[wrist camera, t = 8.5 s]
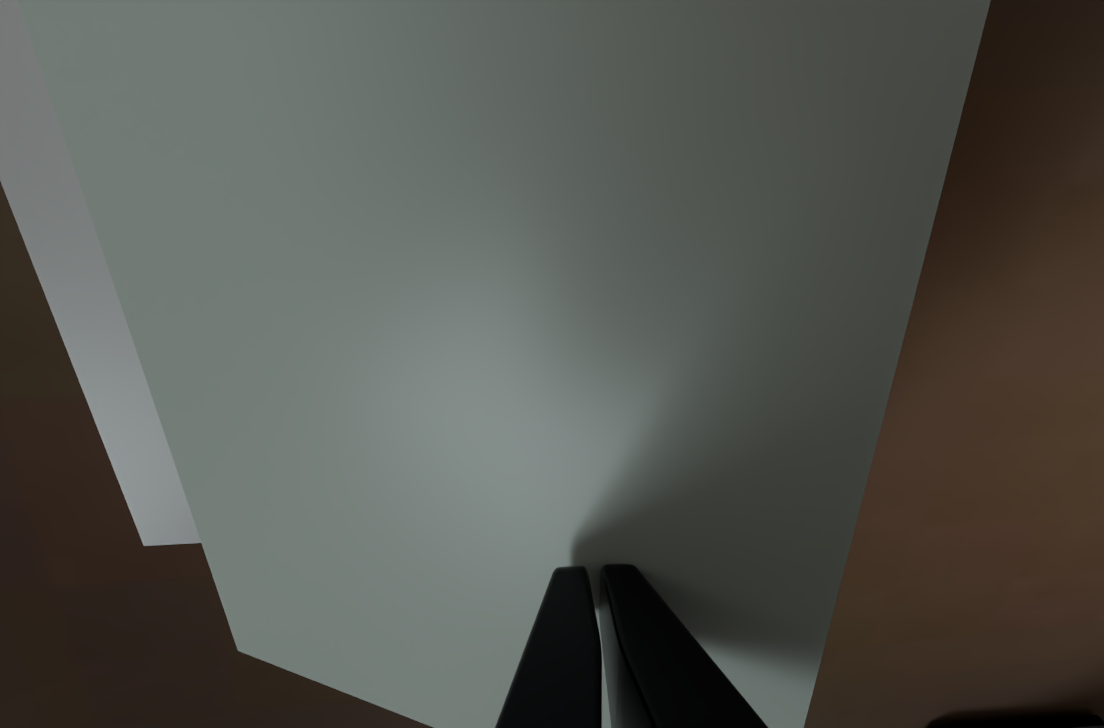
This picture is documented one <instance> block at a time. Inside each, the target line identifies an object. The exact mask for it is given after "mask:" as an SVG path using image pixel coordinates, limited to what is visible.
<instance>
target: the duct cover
mask: <svg viewBox="0 0 1104 728" xmlns="http://www.w3.org/2000/svg"><path fill="white" fill-rule="evenodd" d="M990 1H991V0H18V3H19V6H20V9H21V12H22V15H23V18H24V21H25V24H26V27H27V30H28V33H29V36H30V39H31V41H32V44H33V47H34V50H35V53H36V56H37V59H38V62H39V65H40V68H41V71H42V74H43V77H44V80H45V83H46V86H47V89H48V92H49V95H50V98H51V101H52V103H53V106H54V109H55V112H56V115H57V118H58V121H59V124H60V127H61V130H62V133H63V136H64V139H65V142H66V145H67V148H68V151H69V154H70V157H71V160H72V162H73V165H74V168H75V171H76V174H77V177H78V180H79V183H80V186H81V189H82V192H83V195H84V198H85V201H86V204H87V207H88V210H89V213H90V216H91V219H92V221H93V224H94V227H95V230H96V233H97V236H98V239H99V242H100V245H101V248H102V251H103V254H104V257H105V260H106V263H107V266H108V269H109V272H110V275H111V278H112V280H113V283H114V286H115V289H116V292H117V295H118V298H119V301H120V304H121V307H122V310H123V313H124V316H125V319H126V322H127V325H128V328H129V331H130V334H131V337H132V339H133V342H134V345H135V348H136V351H137V354H138V357H139V360H140V363H141V366H142V369H143V372H144V375H145V378H146V381H147V384H148V387H149V390H150V393H151V396H152V398H153V401H154V404H155V407H156V410H157V413H158V416H159V419H160V422H161V425H162V428H163V431H164V434H165V437H166V440H167V443H168V446H169V449H170V452H171V455H172V457H173V460H174V463H175V466H176V469H177V472H178V475H179V478H180V481H181V484H182V487H183V490H184V493H185V496H186V499H187V502H188V505H189V508H190V511H191V514H192V516H193V519H194V522H195V525H196V528H197V531H198V534H199V537H200V540H201V543H202V546H203V549H204V552H205V555H206V558H207V561H208V564H209V567H210V570H211V573H212V575H213V578H214V581H215V584H216V587H217V590H218V593H219V596H220V599H221V602H222V605H223V608H224V611H225V614H226V617H227V620H228V623H229V626H230V629H231V632H232V634H233V637H234V640H235V643H236V646H237V649H238V651H240V652H243V653H245V654H248V655H250V656H253V657H255V658H258V659H261V660H263V661H266V662H268V663H271V664H273V665H276V666H278V667H281V668H283V669H286V670H289V671H291V672H294V673H296V674H299V675H301V676H304V677H306V678H309V679H311V680H314V681H317V682H319V683H322V684H324V685H327V686H329V687H332V688H334V689H337V690H340V691H342V692H345V693H347V694H350V695H352V696H355V697H357V698H360V699H362V700H365V701H368V702H370V703H373V704H375V705H378V706H380V707H383V708H385V709H388V710H390V711H393V712H396V713H398V714H401V715H403V716H406V717H408V718H411V719H413V720H416V721H418V722H421V723H424V724H426V725H429V726H431V727H434V728H495V726H496V723H497V721H498V718H499V715H500V713H501V710H502V707H503V704H504V702H505V699H506V696H507V694H508V691H509V688H510V686H511V683H512V680H513V678H514V675H515V672H516V670H517V667H518V664H519V662H520V659H521V656H522V654H523V651H524V648H525V646H526V643H527V640H528V637H529V635H530V632H531V629H532V627H533V624H534V621H535V619H536V616H537V613H538V611H539V608H540V605H541V603H542V600H543V597H544V595H545V592H546V589H547V587H548V584H549V581H550V578H551V576H552V573H553V571H554V570H555V569H556V568H557V567H565V566H584V567H586V569H587V571H588V575H589V581H590V586H591V591H592V597H593V602H594V607H595V613H596V618H597V623H598V628H599V634H600V641H601V650H602V728H611V720H610V711H609V702H608V693H607V685H606V676H605V667H604V658H603V649H602V640H601V631H600V620H599V600H600V571H601V568H602V566H603V565H605V564H631V565H634V566H636V567H637V568H638V570H639V571H640V572H641V573H642V574H643V576H644V577H645V578H646V579H647V581H648V582H649V583H650V584H651V585H652V587H653V588H654V589H655V590H656V592H657V593H658V594H659V595H660V596H661V598H662V599H663V600H664V601H665V602H666V604H667V605H668V606H669V607H670V609H671V610H672V611H673V612H674V613H675V615H676V616H677V617H678V618H679V619H680V621H681V622H682V623H683V624H684V626H685V627H686V628H687V629H688V630H689V632H690V633H691V634H692V635H693V636H694V638H695V639H696V640H697V641H698V643H699V644H700V645H701V646H702V647H703V649H704V650H705V651H706V652H707V653H708V655H709V656H710V657H711V658H712V660H713V661H714V662H715V663H716V664H717V666H718V667H719V668H720V669H721V671H722V672H723V673H724V674H725V675H726V677H727V678H728V679H729V680H730V681H731V683H732V684H733V685H734V686H735V688H736V689H737V690H738V691H739V692H740V694H741V695H742V696H743V697H744V698H745V700H746V701H747V702H748V703H749V705H750V706H751V707H752V708H753V709H754V711H755V712H756V713H757V714H758V715H759V717H760V718H761V719H762V720H763V722H764V723H765V724H766V725H767V726H768V728H804V724H805V720H806V716H807V712H808V708H809V704H810V700H811V697H812V693H813V689H814V685H815V681H816V677H817V673H818V669H819V665H820V662H821V658H822V654H823V650H824V646H825V642H826V638H827V634H828V631H829V627H830V623H831V619H832V615H833V611H834V607H835V603H836V599H837V596H838V592H839V588H840V584H841V580H842V576H843V572H844V568H845V565H846V561H847V557H848V553H849V549H850V545H851V541H852V537H853V533H854V530H855V526H856V522H857V518H858V514H859V510H860V506H861V502H862V498H863V495H864V491H865V487H866V483H867V479H868V475H869V471H870V467H871V464H872V460H873V456H874V452H875V448H876V444H877V440H878V436H879V432H880V429H881V425H882V421H883V417H884V413H885V409H886V405H887V401H888V397H889V394H890V390H891V386H892V382H893V378H894V374H895V370H896V366H897V363H898V359H899V355H900V351H901V347H902V343H903V339H904V335H905V331H906V328H907V324H908V320H909V316H910V312H911V308H912V304H913V300H914V296H915V293H916V289H917V285H918V281H919V277H920V273H921V269H922V265H923V262H924V258H925V254H926V250H927V246H928V242H929V238H930V234H931V230H932V227H933V223H934V219H935V215H936V211H937V207H938V203H939V199H940V196H941V192H942V188H943V184H944V180H945V176H946V172H947V168H948V164H949V161H950V157H951V153H952V149H953V145H954V141H955V137H956V133H957V129H958V126H959V122H960V118H961V114H962V110H963V106H964V102H965V98H966V95H967V91H968V87H969V83H970V79H971V75H972V71H973V67H974V63H975V60H976V56H977V52H978V48H979V44H980V40H981V36H982V32H983V28H984V25H985V21H986V17H987V13H988V9H989V5H990Z"/></svg>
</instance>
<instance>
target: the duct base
mask: <svg viewBox="0 0 1104 728" xmlns="http://www.w3.org/2000/svg"><path fill="white" fill-rule="evenodd" d="M0 181H1V184H2V186H3V189H4V191H5V194H6V196H7V199H8V201H9V204H10V207H11V209H12V212H13V214H14V217H15V219H16V222H17V224H18V227H19V229H20V232H21V235H22V237H23V240H24V242H25V245H26V247H27V250H28V252H29V255H30V257H31V260H32V263H33V265H34V268H35V270H36V273H37V275H38V278H39V280H40V283H41V285H42V288H43V291H44V293H45V296H46V298H47V301H48V303H49V306H50V308H51V311H52V313H53V316H54V319H55V321H56V324H57V326H58V329H59V331H60V334H61V336H62V339H63V341H64V344H65V346H66V349H67V352H68V354H69V357H70V359H71V362H72V364H73V367H74V369H75V372H76V374H77V377H78V380H79V382H80V385H81V387H82V390H83V392H84V395H85V397H86V400H87V402H88V405H89V408H90V410H91V413H92V415H93V418H94V420H95V423H96V425H97V428H98V430H99V433H100V436H101V438H102V441H103V443H104V446H105V448H106V451H107V453H108V456H109V458H110V461H111V464H112V466H113V469H114V471H115V474H116V476H117V479H118V481H119V484H120V486H121V489H122V492H123V494H124V497H125V499H126V502H127V504H128V507H129V509H130V512H131V514H132V517H133V520H134V522H135V525H136V527H137V530H138V532H139V535H140V537H141V540H142V542H143V545H144V546H152V545H170V544H188V543H201V540H200V537H199V534H198V531H197V528H196V525H195V522H194V519H193V516H192V514H191V511H190V508H189V505H188V502H187V499H186V496H185V493H184V490H183V487H182V484H181V481H180V478H179V475H178V472H177V469H176V466H175V463H174V460H173V457H172V455H171V452H170V449H169V446H168V443H167V440H166V437H165V434H164V431H163V428H162V425H161V422H160V419H159V416H158V413H157V410H156V407H155V404H154V401H153V398H152V396H151V393H150V390H149V387H148V384H147V381H146V378H145V375H144V372H143V369H142V366H141V363H140V360H139V357H138V354H137V351H136V348H135V345H134V342H133V339H132V337H131V334H130V331H129V328H128V325H127V322H126V319H125V316H124V313H123V310H122V307H121V304H120V301H119V298H118V295H117V292H116V289H115V286H114V283H113V280H112V278H111V275H110V272H109V269H108V266H107V263H106V260H105V257H104V254H103V251H102V248H101V245H100V242H99V239H98V236H97V233H96V230H95V227H94V224H93V221H92V219H91V216H90V213H89V210H88V207H87V204H86V201H85V198H84V195H83V192H82V189H81V186H80V183H79V180H78V177H77V174H76V171H75V168H74V165H73V162H72V160H71V157H70V154H69V151H68V148H67V145H66V142H65V139H64V136H63V133H62V130H61V127H60V124H59V121H58V118H57V115H56V112H55V109H54V106H53V103H52V101H51V98H50V95H49V92H48V89H47V86H46V83H45V80H44V77H43V74H42V71H41V68H40V65H39V62H38V59H37V56H36V53H35V50H34V47H33V44H32V41H31V39H30V36H29V33H28V30H27V27H26V24H25V21H24V18H23V15H22V12H21V9H20V6H19V3H18V0H0Z"/></svg>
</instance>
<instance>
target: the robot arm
mask: <svg viewBox="0 0 1104 728" xmlns="http://www.w3.org/2000/svg"><path fill="white" fill-rule="evenodd" d="M599 620H600V631H601V640H602V649H603V658H604V667H605V676H606V685H607V693H608V702H609V711H610V720H611V728H768V726H767V725H766V724H765V723H764V722H763V720H762V719H761V718H760V717H759V715H758V714H757V713H756V712H755V711H754V709H753V708H752V707H751V706H750V705H749V703H748V702H747V701H746V700H745V698H744V697H743V696H742V695H741V694H740V692H739V691H738V690H737V689H736V688H735V686H734V685H733V684H732V683H731V681H730V680H729V679H728V678H727V677H726V675H725V674H724V673H723V672H722V671H721V669H720V668H719V667H718V666H717V664H716V663H715V662H714V661H713V660H712V658H711V657H710V656H709V655H708V653H707V652H706V651H705V650H704V649H703V647H702V646H701V645H700V644H699V643H698V641H697V640H696V639H695V638H694V636H693V635H692V634H691V633H690V632H689V630H688V629H687V628H686V627H685V626H684V624H683V623H682V622H681V621H680V619H679V618H678V617H677V616H676V615H675V613H674V612H673V611H672V610H671V609H670V607H669V606H668V605H667V604H666V602H665V601H664V600H663V599H662V598H661V596H660V595H659V594H658V593H657V592H656V590H655V589H654V588H653V587H652V585H651V584H650V583H649V582H648V581H647V579H646V578H645V577H644V576H643V574H642V573H641V572H640V571H639V570H638V568H637V567H636V566H634V565H631V564H605V565H603V566H602V568H601V571H600V600H599ZM495 728H602V650H601V641H600V634H599V628H598V623H597V618H596V613H595V607H594V602H593V597H592V591H591V586H590V581H589V575H588V571H587V569H586V567H584V566H565V567H557V568H556V569H555V570H554V571H553V573H552V576H551V578H550V581H549V584H548V587H547V589H546V592H545V595H544V597H543V600H542V603H541V605H540V608H539V611H538V613H537V616H536V619H535V621H534V624H533V627H532V629H531V632H530V635H529V637H528V640H527V643H526V646H525V648H524V651H523V654H522V656H521V659H520V662H519V664H518V667H517V670H516V672H515V675H514V678H513V680H512V683H511V686H510V688H509V691H508V694H507V696H506V699H505V702H504V704H503V707H502V710H501V713H500V715H499V718H498V721H497V723H496V726H495ZM933 728H1104V721H1103V720H1102V719H1101V718H1100V717H1099V716H1097V715H1083V716H1069V717H1055V718H1041V719H1028V720H1014V721H1000V722H986V723H973V724H959V725H945V726H936V727H933Z"/></svg>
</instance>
